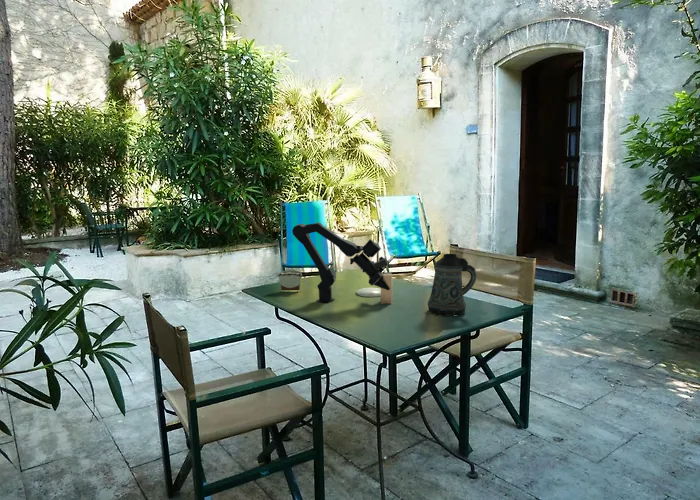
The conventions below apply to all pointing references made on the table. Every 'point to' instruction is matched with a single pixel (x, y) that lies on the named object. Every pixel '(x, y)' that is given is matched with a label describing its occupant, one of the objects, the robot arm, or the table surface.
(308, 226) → the robot arm
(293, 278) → the food container
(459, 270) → the beer stein
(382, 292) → the tan tall block
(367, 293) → the cream plate
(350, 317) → the table surface
